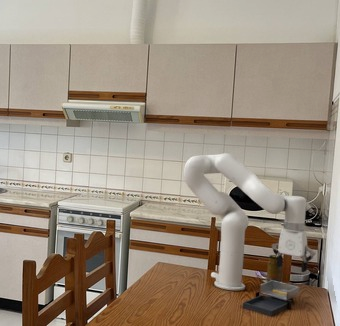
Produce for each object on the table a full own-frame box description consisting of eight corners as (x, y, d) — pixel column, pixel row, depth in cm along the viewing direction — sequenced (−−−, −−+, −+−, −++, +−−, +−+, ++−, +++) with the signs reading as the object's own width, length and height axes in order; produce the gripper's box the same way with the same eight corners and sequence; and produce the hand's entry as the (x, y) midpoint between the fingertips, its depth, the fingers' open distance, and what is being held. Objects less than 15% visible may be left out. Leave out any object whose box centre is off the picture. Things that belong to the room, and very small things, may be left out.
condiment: (274, 280, 224) (276, 254, 223) (288, 285, 216) (290, 258, 215) (261, 281, 221) (263, 254, 220) (274, 286, 213) (276, 259, 212)
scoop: (259, 293, 193) (260, 284, 193) (277, 286, 205) (278, 277, 205) (287, 301, 185) (288, 291, 185) (304, 293, 197) (305, 284, 197)
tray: (242, 307, 183) (243, 302, 183) (260, 299, 194) (261, 294, 194) (271, 316, 176) (271, 311, 176) (288, 307, 186) (288, 302, 186)
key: (271, 291, 195) (271, 290, 195) (274, 290, 196) (274, 289, 196) (285, 295, 191) (285, 293, 191) (287, 294, 192) (288, 292, 192)
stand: (254, 300, 193) (255, 291, 193) (266, 294, 201) (267, 287, 201) (289, 309, 184) (289, 301, 184) (300, 304, 191) (300, 295, 191)
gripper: (269, 224, 201) (266, 265, 202) (313, 231, 189) (310, 275, 190) (277, 222, 207) (274, 263, 208) (320, 229, 195) (317, 272, 196)
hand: (291, 268), depth 199 cm, fingers open, 9 cm apart
